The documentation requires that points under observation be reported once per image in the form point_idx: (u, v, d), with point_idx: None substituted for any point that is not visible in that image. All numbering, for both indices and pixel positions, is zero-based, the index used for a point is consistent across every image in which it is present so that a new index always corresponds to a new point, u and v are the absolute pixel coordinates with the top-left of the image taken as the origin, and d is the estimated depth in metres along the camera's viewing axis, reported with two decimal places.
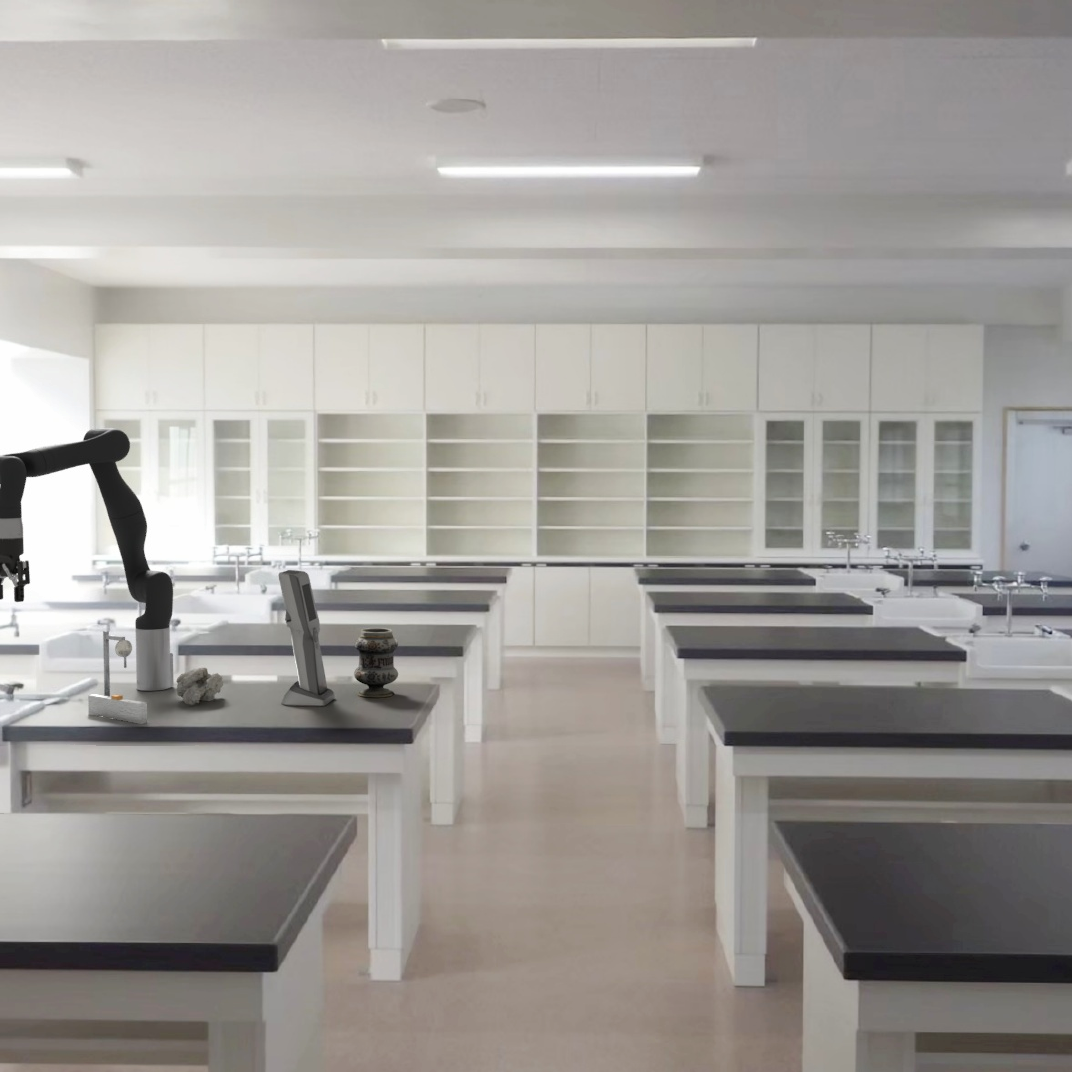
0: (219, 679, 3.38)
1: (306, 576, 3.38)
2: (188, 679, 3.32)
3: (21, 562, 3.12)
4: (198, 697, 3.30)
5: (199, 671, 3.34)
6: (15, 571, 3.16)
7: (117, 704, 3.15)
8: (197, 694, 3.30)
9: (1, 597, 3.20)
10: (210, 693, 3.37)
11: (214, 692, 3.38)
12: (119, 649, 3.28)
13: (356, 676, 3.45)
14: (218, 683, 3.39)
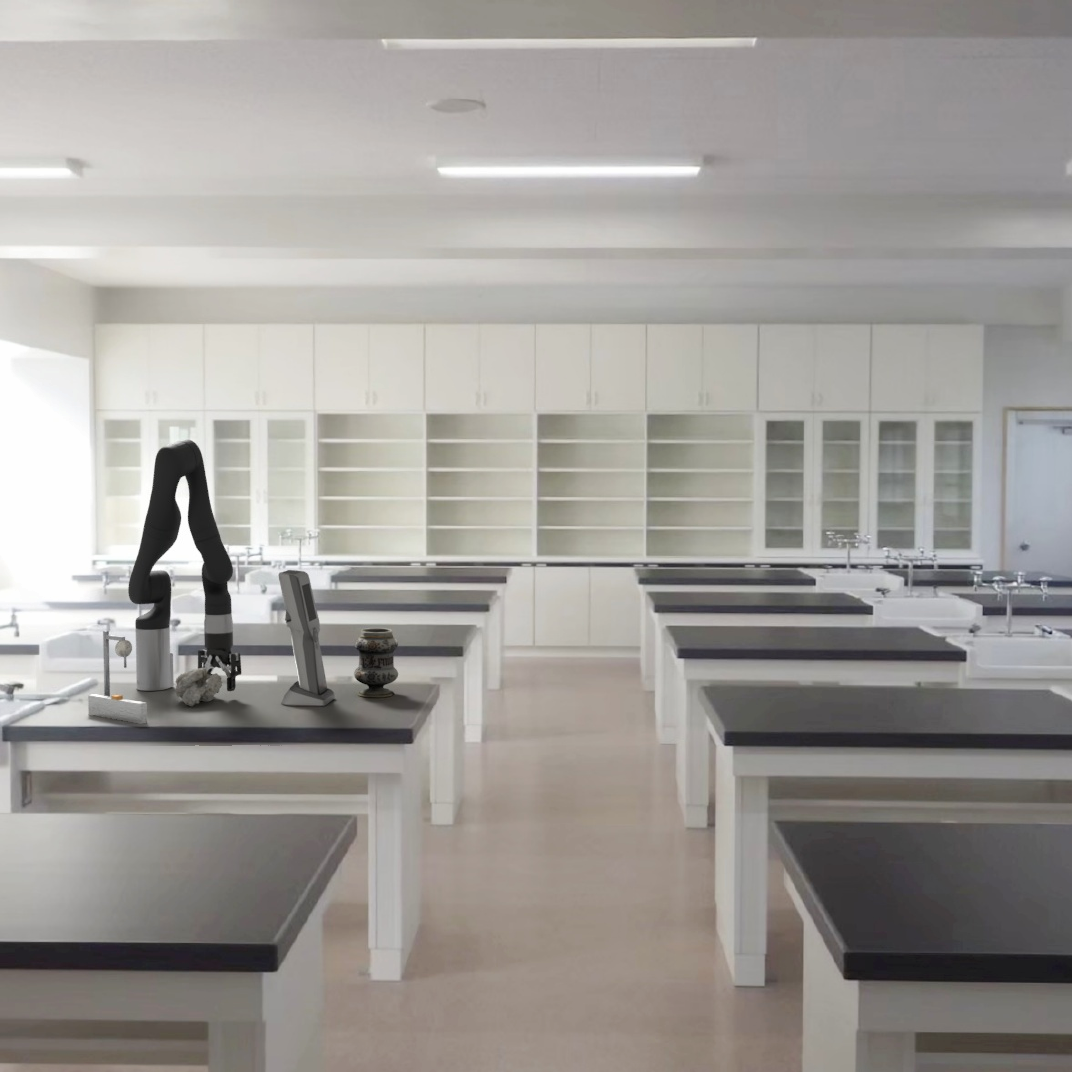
0: (218, 679, 3.37)
1: (306, 576, 3.38)
2: (188, 679, 3.31)
3: (234, 655, 3.40)
4: (198, 697, 3.29)
5: (198, 671, 3.33)
6: (227, 662, 3.43)
7: (117, 704, 3.15)
8: (197, 695, 3.29)
9: None
10: (209, 693, 3.36)
11: (213, 692, 3.37)
12: (119, 649, 3.28)
13: (356, 676, 3.45)
14: (217, 683, 3.38)
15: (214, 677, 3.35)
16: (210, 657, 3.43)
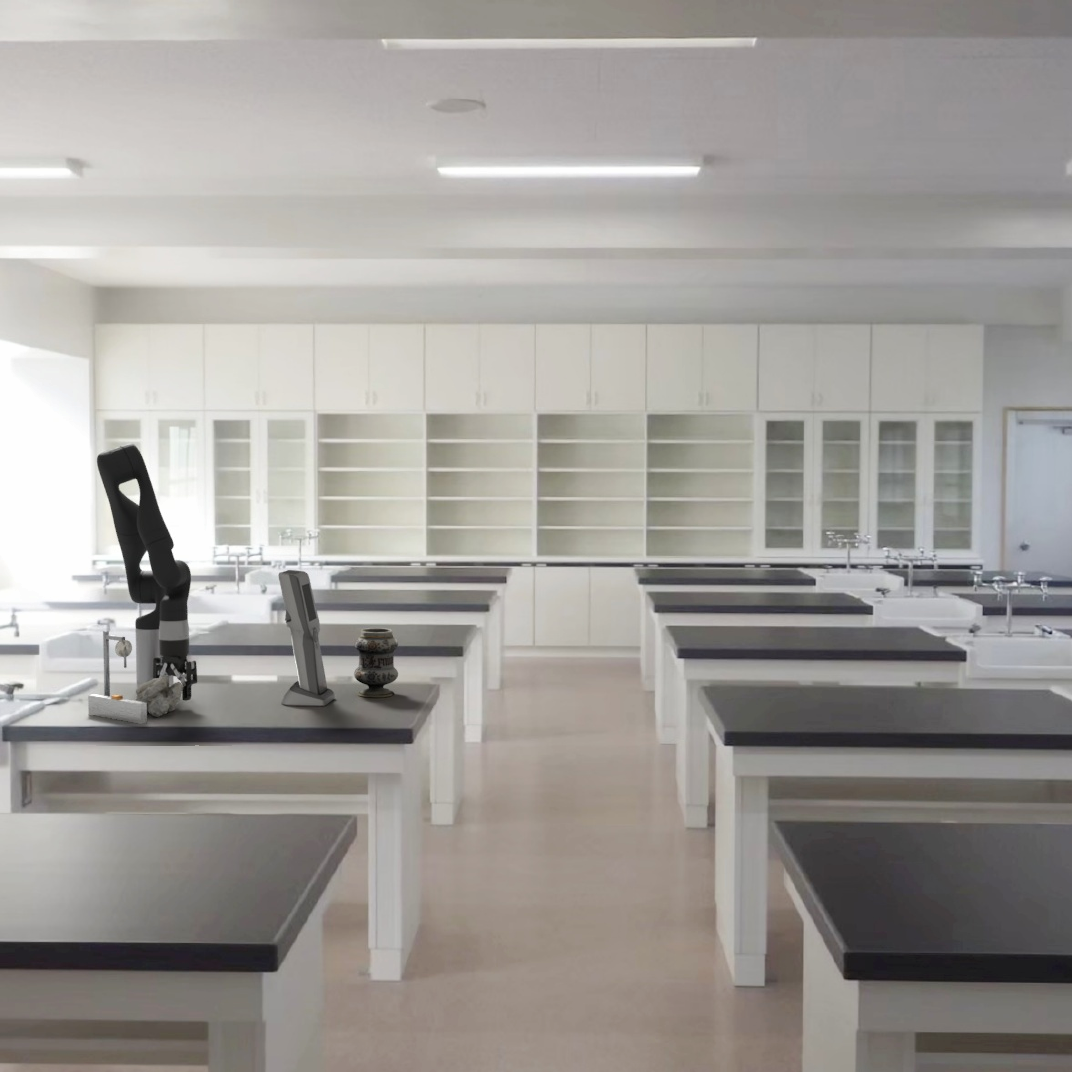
0: (181, 688, 3.26)
1: (306, 576, 3.38)
2: (153, 689, 3.18)
3: (190, 663, 3.27)
4: (167, 707, 3.16)
5: (163, 680, 3.21)
6: (182, 671, 3.30)
7: (117, 704, 3.15)
8: (165, 705, 3.16)
9: None
10: (173, 703, 3.24)
11: (176, 702, 3.25)
12: (119, 649, 3.28)
13: (356, 676, 3.45)
14: (180, 692, 3.26)
15: (179, 686, 3.23)
16: (165, 665, 3.30)
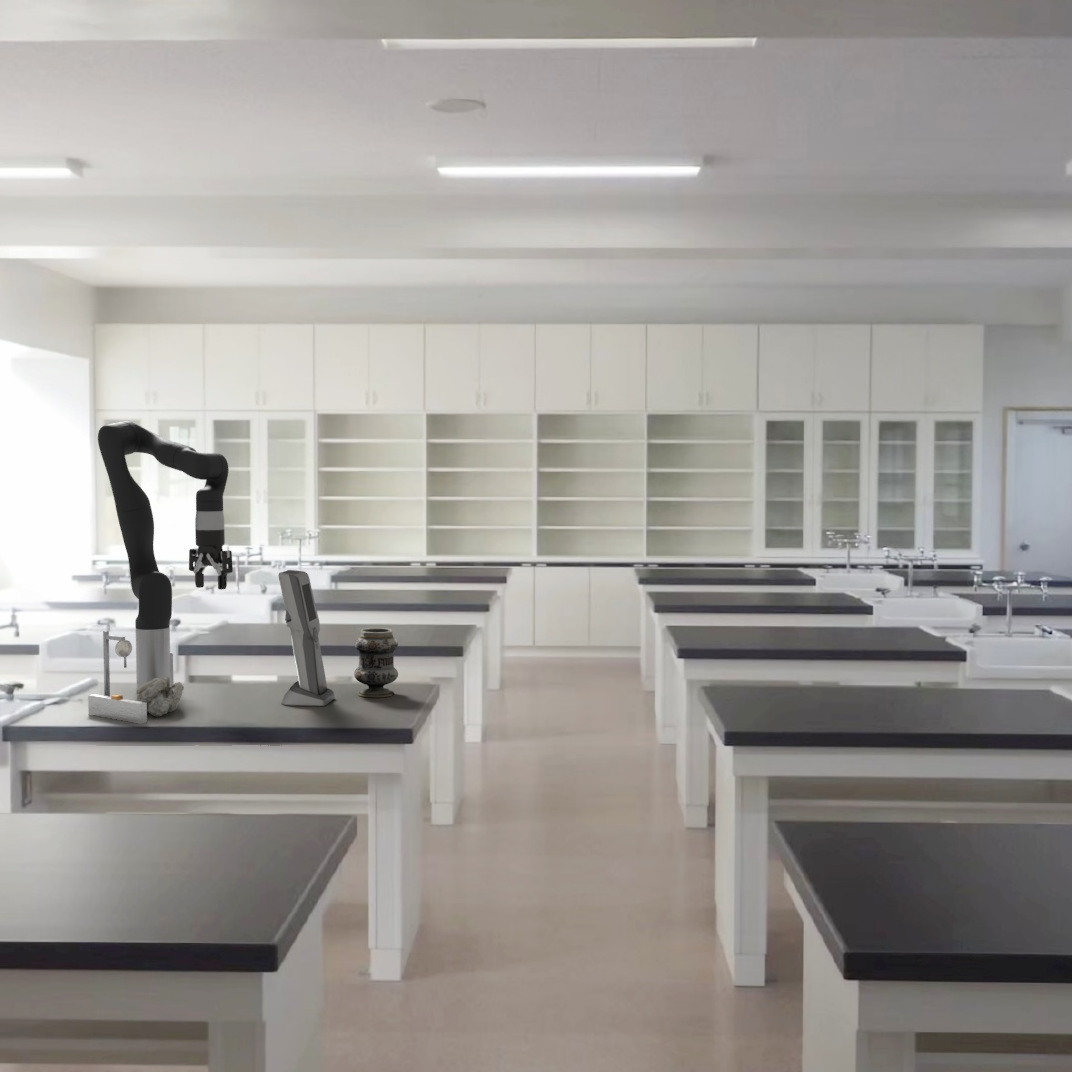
0: (182, 688, 3.25)
1: (306, 576, 3.38)
2: (153, 689, 3.18)
3: (225, 552, 3.34)
4: (167, 707, 3.16)
5: (163, 680, 3.20)
6: (218, 561, 3.37)
7: (117, 704, 3.15)
8: (165, 705, 3.16)
9: (202, 585, 3.42)
10: (173, 703, 3.24)
11: (177, 702, 3.25)
12: (119, 649, 3.28)
13: (356, 676, 3.45)
14: (180, 692, 3.26)
15: (179, 686, 3.23)
16: (201, 555, 3.38)
